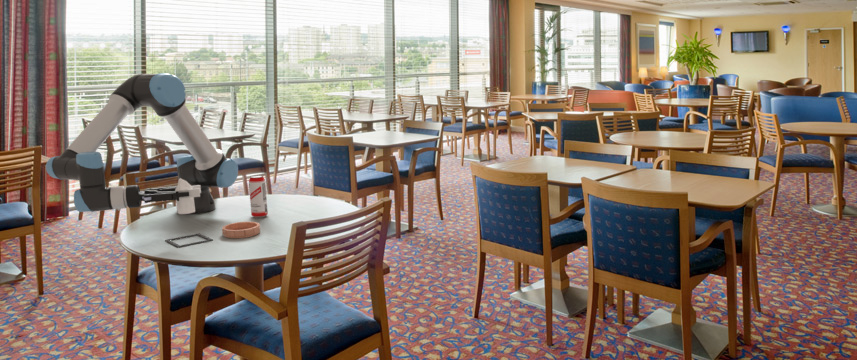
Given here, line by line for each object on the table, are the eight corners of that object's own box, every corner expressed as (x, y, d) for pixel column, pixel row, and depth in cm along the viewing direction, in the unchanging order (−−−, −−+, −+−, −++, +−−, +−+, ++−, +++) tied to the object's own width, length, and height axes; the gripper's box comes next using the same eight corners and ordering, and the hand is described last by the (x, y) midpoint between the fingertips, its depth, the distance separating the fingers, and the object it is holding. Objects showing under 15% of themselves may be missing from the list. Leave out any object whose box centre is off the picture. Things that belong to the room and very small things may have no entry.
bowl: (217, 234, 238) (216, 226, 237) (250, 227, 246) (249, 219, 245) (232, 240, 228) (231, 232, 228) (266, 233, 236) (265, 225, 236)
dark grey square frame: (165, 241, 231) (165, 239, 230) (199, 234, 238) (199, 233, 238) (178, 247, 222) (178, 246, 221) (213, 240, 229) (212, 239, 229)
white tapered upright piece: (194, 176, 228) (186, 179, 223) (198, 210, 230) (190, 214, 225) (178, 176, 229) (169, 179, 224) (182, 210, 231) (173, 214, 226)
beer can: (263, 218, 259) (260, 177, 256) (248, 218, 260) (245, 177, 257) (270, 214, 265) (267, 174, 262) (255, 214, 266) (252, 174, 263)
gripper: (132, 202, 232) (202, 196, 238) (123, 214, 214) (199, 207, 220) (129, 181, 230) (200, 175, 236) (120, 191, 213) (197, 184, 219)
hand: (200, 190), depth 228 cm, fingers closed on white tapered upright piece, 6 cm apart
